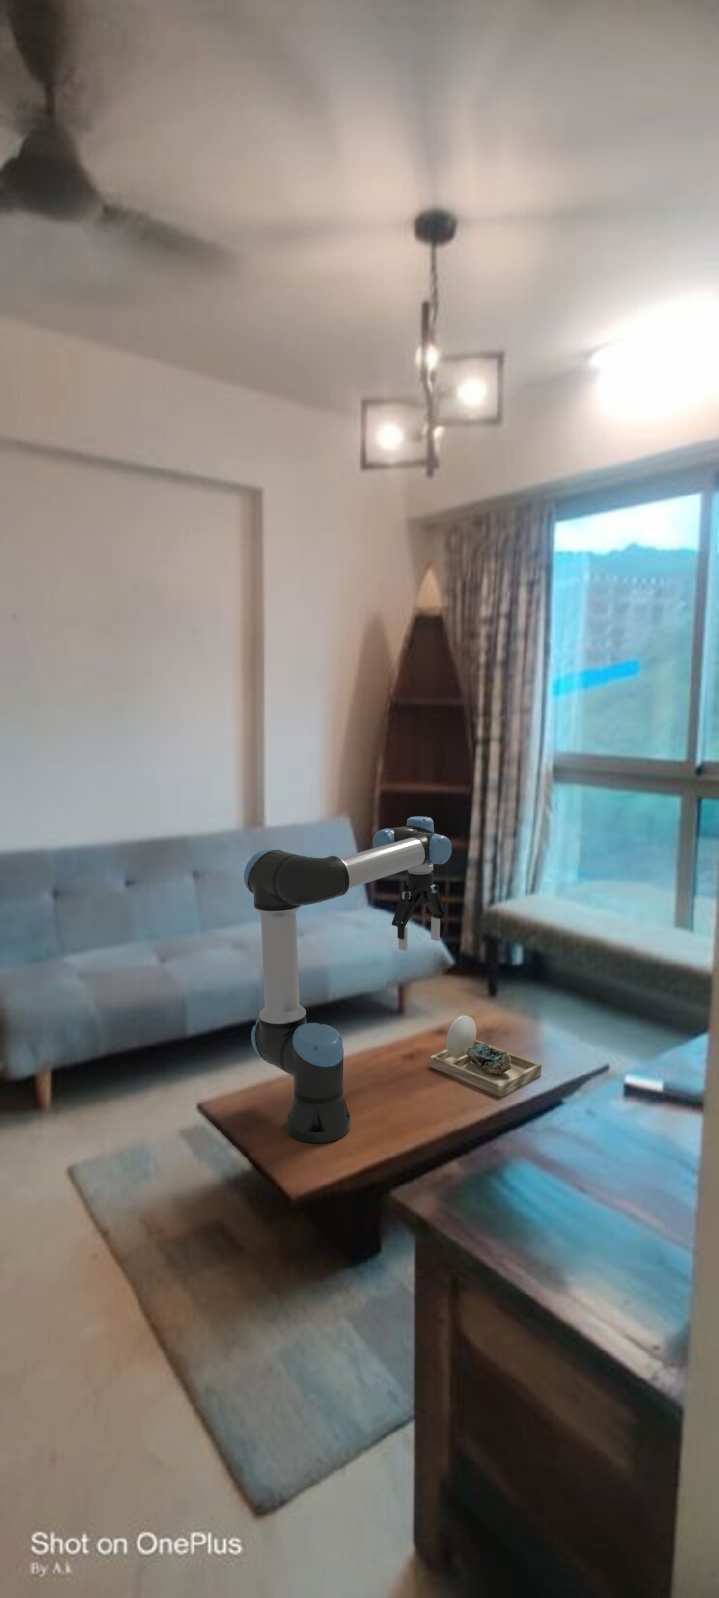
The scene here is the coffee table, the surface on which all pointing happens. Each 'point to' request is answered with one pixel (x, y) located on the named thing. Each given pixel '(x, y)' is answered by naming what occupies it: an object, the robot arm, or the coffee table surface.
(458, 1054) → the standing plate
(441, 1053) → the wooden tray
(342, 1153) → the coffee table surface
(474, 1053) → the mineral specimen
